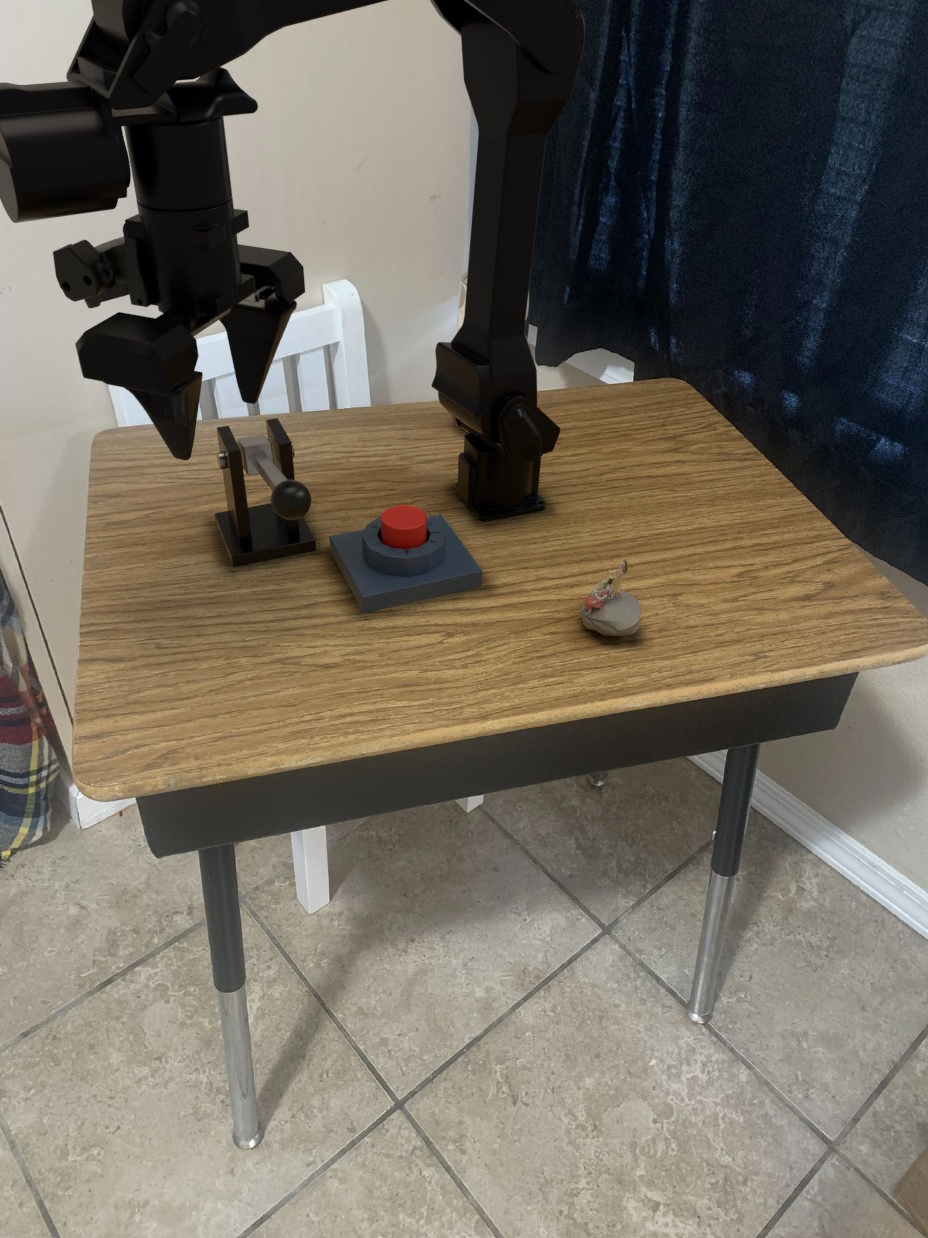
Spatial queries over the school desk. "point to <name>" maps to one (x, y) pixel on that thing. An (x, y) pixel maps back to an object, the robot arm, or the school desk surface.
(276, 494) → the lever handle
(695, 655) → the school desk surface
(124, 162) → the robot arm
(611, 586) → the figurine
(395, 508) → the red button
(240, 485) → the lever bracket
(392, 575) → the button block
